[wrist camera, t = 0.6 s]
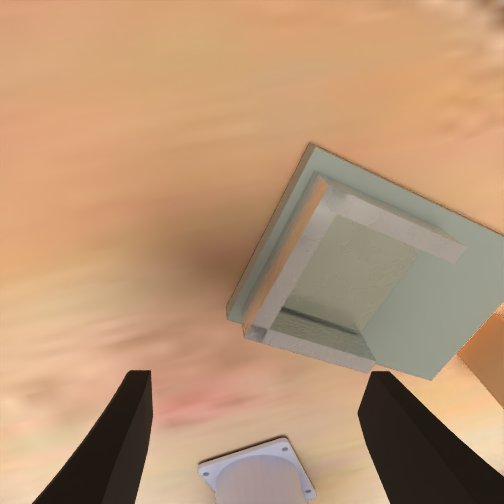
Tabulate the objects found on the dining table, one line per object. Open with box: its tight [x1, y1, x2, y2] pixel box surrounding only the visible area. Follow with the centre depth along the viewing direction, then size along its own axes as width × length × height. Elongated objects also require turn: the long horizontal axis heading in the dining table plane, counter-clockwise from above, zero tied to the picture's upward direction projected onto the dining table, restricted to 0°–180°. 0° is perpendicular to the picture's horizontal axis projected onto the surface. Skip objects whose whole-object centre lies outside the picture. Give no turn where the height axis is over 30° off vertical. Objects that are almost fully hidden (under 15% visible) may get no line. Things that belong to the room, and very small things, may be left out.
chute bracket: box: [241, 170, 468, 374], centre depth 19 cm, size 8×9×2 cm
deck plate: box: [226, 143, 504, 381], centre depth 21 cm, size 16×11×1 cm
